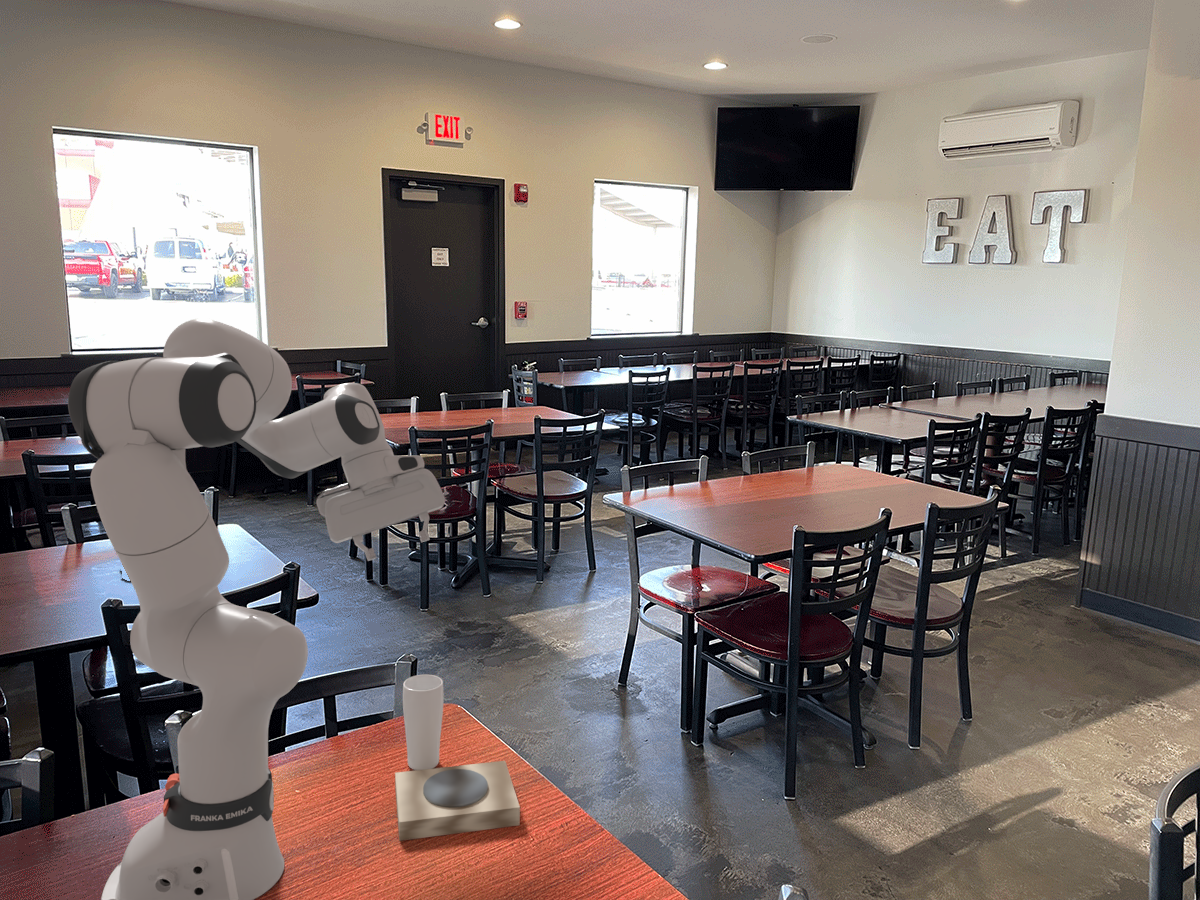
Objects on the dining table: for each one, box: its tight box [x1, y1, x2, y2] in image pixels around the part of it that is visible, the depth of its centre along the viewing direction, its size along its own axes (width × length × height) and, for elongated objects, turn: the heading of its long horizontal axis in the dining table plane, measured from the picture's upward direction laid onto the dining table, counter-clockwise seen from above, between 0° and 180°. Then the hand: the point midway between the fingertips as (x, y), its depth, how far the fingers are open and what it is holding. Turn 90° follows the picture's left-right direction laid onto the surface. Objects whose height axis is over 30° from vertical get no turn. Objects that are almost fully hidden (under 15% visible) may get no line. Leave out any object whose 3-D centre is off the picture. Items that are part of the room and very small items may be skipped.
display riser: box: [394, 760, 521, 842], centre depth 139 cm, size 18×14×4 cm
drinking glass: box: [402, 674, 444, 771], centre depth 150 cm, size 7×7×15 cm
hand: (399, 550), depth 150 cm, fingers open, 8 cm apart
